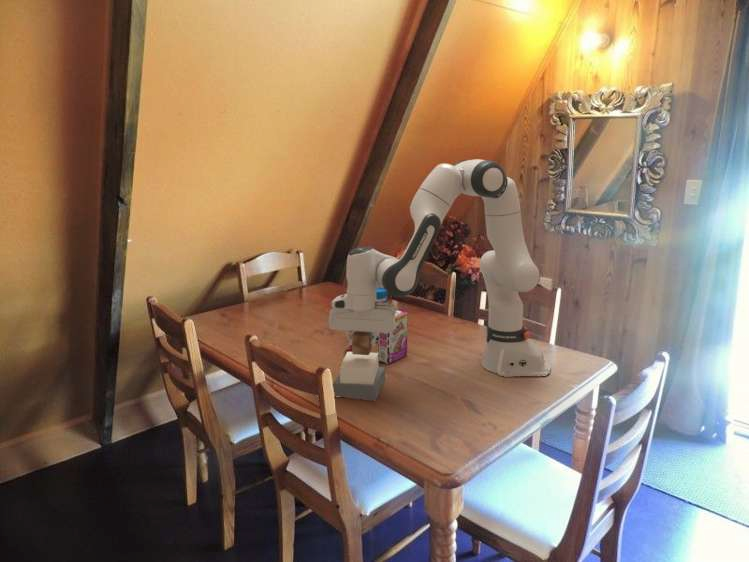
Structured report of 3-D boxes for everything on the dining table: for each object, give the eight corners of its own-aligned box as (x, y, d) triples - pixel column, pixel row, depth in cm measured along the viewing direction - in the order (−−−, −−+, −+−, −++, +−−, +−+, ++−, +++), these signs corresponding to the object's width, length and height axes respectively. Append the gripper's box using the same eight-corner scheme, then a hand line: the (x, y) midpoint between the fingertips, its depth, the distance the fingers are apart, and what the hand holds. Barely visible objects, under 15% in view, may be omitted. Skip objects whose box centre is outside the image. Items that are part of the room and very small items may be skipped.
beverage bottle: (376, 333, 223) (375, 285, 218) (393, 337, 218) (393, 288, 213) (363, 339, 216) (362, 290, 211) (381, 344, 211) (381, 293, 206)
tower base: (384, 381, 180) (384, 367, 178) (375, 402, 165) (375, 386, 164) (346, 378, 182) (345, 364, 181) (333, 398, 168) (332, 383, 167)
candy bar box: (389, 365, 191) (388, 319, 187) (377, 361, 194) (377, 317, 190) (408, 355, 200) (408, 312, 196) (397, 352, 203) (397, 309, 199)
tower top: (378, 367, 178) (378, 352, 177) (373, 384, 166) (373, 369, 164) (347, 366, 179) (347, 351, 178) (340, 383, 167) (339, 367, 166)
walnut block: (371, 349, 172) (371, 330, 171) (368, 355, 167) (368, 336, 166) (356, 348, 173) (355, 330, 172) (352, 354, 168) (352, 335, 167)
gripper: (397, 299, 167) (397, 343, 171) (332, 296, 171) (333, 339, 175) (394, 305, 161) (394, 350, 165) (326, 302, 165) (327, 346, 169)
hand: (362, 344), depth 170 cm, fingers closed on walnut block, 5 cm apart
